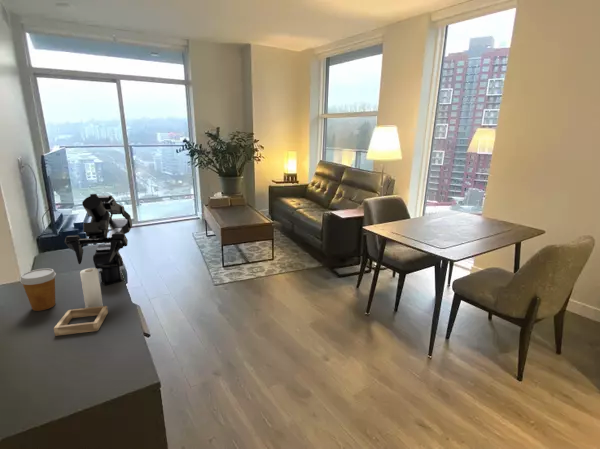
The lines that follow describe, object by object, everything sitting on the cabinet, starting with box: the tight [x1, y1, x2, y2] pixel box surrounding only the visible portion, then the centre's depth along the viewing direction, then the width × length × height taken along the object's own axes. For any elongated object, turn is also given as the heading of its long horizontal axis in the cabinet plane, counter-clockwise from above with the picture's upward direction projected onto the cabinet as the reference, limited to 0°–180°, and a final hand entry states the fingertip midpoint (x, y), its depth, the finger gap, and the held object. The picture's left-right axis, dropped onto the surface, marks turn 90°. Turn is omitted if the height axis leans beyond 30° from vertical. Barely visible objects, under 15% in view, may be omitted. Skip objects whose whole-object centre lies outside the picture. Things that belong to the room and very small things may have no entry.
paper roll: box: [79, 267, 104, 308], centre depth 111 cm, size 5×5×13 cm
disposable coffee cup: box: [19, 268, 57, 312], centre depth 111 cm, size 10×10×12 cm
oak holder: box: [53, 305, 109, 337], centre depth 102 cm, size 11×11×2 cm
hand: (94, 262), depth 115 cm, fingers open, 9 cm apart
